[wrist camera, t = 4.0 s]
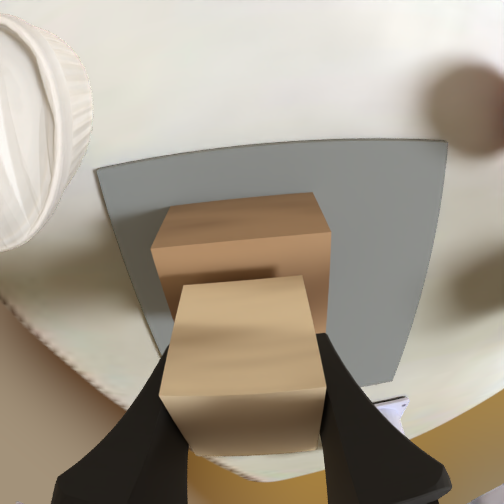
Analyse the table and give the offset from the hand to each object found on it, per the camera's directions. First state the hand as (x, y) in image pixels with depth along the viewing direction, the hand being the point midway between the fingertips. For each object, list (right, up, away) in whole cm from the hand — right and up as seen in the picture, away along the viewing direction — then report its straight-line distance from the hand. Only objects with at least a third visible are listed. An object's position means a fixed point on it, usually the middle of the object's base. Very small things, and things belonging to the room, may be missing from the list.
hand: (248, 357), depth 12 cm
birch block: (0, +1, +2) cm, 2 cm away
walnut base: (0, +4, +6) cm, 7 cm away
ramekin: (-12, +11, +1) cm, 17 cm away
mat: (+2, +1, +8) cm, 8 cm away
